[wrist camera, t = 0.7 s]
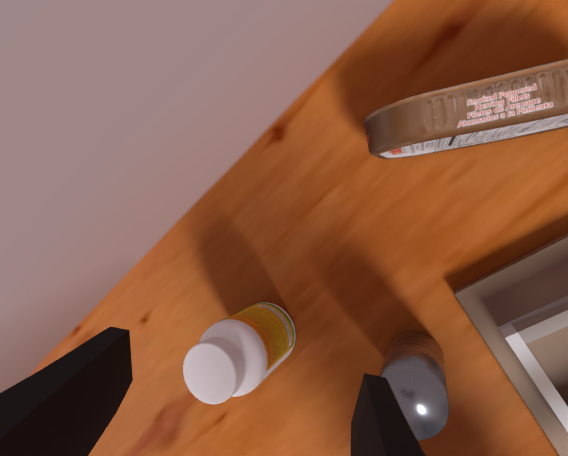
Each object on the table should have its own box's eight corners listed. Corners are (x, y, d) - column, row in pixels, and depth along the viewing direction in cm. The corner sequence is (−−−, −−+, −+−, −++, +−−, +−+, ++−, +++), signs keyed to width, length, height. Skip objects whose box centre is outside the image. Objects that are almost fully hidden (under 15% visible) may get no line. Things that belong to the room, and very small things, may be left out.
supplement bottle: (256, 289, 33) (192, 315, 24) (307, 322, 32) (259, 363, 23) (231, 339, 34) (161, 382, 25) (280, 374, 33) (223, 433, 24)
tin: (607, 80, 24) (693, 13, 16) (614, 129, 24) (705, 84, 16) (371, 131, 30) (351, 99, 22) (377, 171, 29) (358, 153, 22)
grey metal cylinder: (454, 369, 28) (464, 424, 20) (405, 391, 29) (398, 450, 21) (423, 321, 28) (422, 357, 21) (377, 344, 30) (361, 385, 22)
